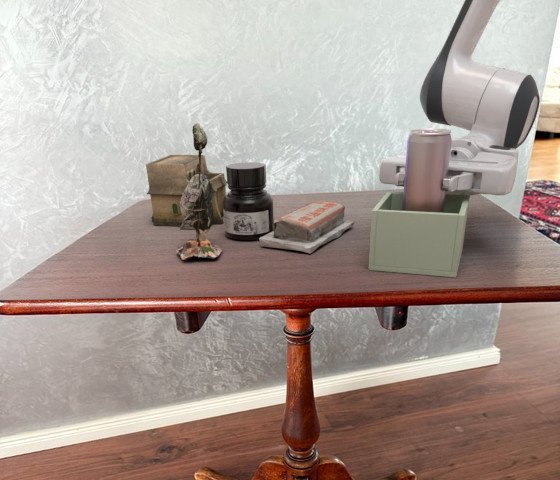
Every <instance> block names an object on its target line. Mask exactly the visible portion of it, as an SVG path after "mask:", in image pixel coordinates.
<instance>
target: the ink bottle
mask: <svg viewBox="0 0 560 480" xmlns="http://www.w3.org/2000/svg"><path fill="white" fill-rule="evenodd" d="M225 171H226V181H227V189H228V190H229V191H228V192H227V194H226V196H225V197H224V199H223V213H224V216H223V225H224V231H225V236H226V237H227V238H229V239H232V240H238V241H258V240H259V238H260V237H263V236H265V235H267V234H269V233H271V232H273V223H274V221H275V219H274V200H273V199H274V198H273V195H271V194H270V193H269V192H268V191H267V189H265V188H266V187H267V167H266V163H262V162H257V161H256V162H255V161H251V162H250V161H249V162H248V161H244V162H236V163H230V164H227V165H226V166H225Z"/></svg>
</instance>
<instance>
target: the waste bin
mask: <svg viewBox="0 0 560 480" xmlns="http://www.w3.org/2000/svg"><path fill="white" fill-rule="evenodd" d="M403 192H404V191H403ZM403 192H402V191H387V192H386V193H385V194H384V195H383V196H382V198H381V199H380V200H379V201H378V203H376V205H375V206H374V207H372V209H371V212H370V213H371V215H370V231H369V250H368V251H369V252H368V255H369V256H368V271H375V272H386V273H398V274H409V275H421V276H431V277H432V276H433V277H443V278H444V277H445V278H454V279H456V278H457V277H458V276H457V275H458V271H459V267H460V263H461V258H462V253H463V249H464V241H465V234H466V227H467V221H468V220H467V219H468V215H469V214H468V212H469V205H470V198H471V196H470V195H455V194H446V195H445V204H444V213H437V212H417V211H402V205H403Z"/></svg>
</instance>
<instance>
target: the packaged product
mask: <svg viewBox="0 0 560 480" xmlns="http://www.w3.org/2000/svg"><path fill="white" fill-rule="evenodd" d="M345 209H346V206H345V204H343V203H341V202H339V201H330V200H315V201H312V202H309V203H308V204H305V205H303V206H301V207H299V208H297V209H295V210H293V211H291V212H289V213H286V214H284V215H282V216H280V217H278V218H276V219H274V223H273V232H271V233H269V234H267V235H265V236H263V237H260V238H259V239H258V240H259V244H260V247H264V248H275V249H283V250H290V251H296V252H303V253H307V254H312V253H314V251H315V250H317V249H318V248H319V247H321V246H323V245H325V244H327V243H329V242H331V241H332V240H335V239H338V238H340V237H341V236H342V234H343V233H344V232H345V231H347V230H349V229H350V228H352V227H354V225H355V223H356V222H355V221H354V220H347V219H344V218H345V211H346V210H345Z"/></svg>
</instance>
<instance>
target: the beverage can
mask: <svg viewBox="0 0 560 480" xmlns="http://www.w3.org/2000/svg"><path fill="white" fill-rule="evenodd" d="M408 133H409V135H408V137H407V140H406V153H405V155H406V165H405V178H404V187H403V205H402V211H417V212H437V213H444V204H445V195H446V191H443V190H442V186H443V179H444V178H445V177H447V176H448V168H449V159H450V150H451V141H452V140H453V139H452V135H451V134H452V130H451V129H448V128H446V129H445V128H416V129H411V130H409V132H408Z"/></svg>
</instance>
